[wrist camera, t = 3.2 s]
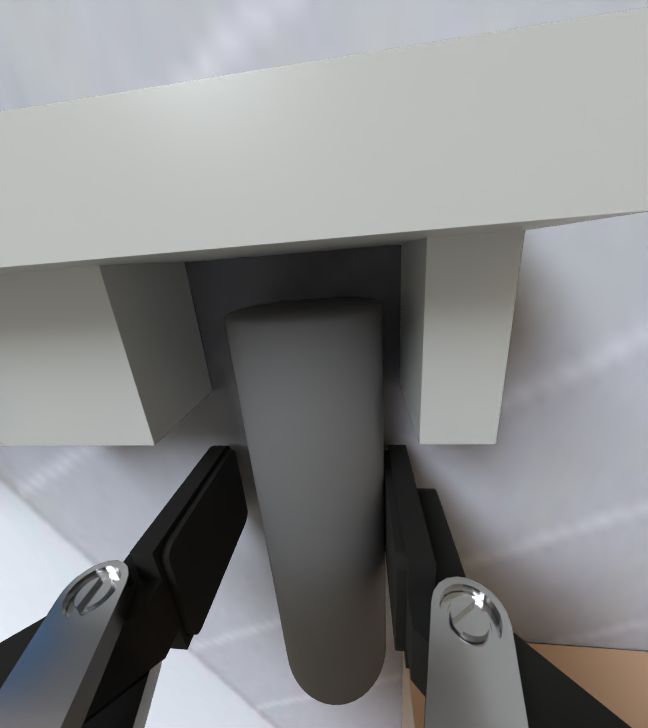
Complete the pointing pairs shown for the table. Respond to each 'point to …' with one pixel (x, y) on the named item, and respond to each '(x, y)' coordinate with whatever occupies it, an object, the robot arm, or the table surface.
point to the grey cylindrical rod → (319, 479)
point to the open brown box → (585, 667)
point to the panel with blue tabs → (305, 213)
